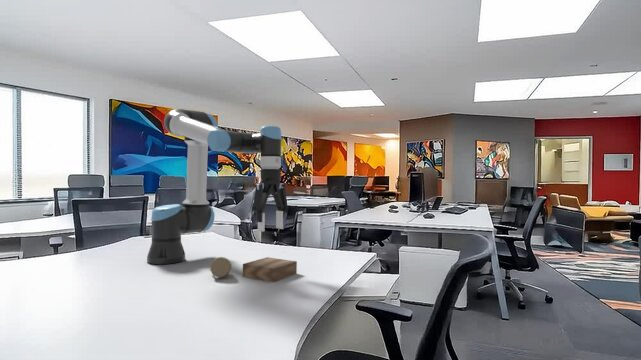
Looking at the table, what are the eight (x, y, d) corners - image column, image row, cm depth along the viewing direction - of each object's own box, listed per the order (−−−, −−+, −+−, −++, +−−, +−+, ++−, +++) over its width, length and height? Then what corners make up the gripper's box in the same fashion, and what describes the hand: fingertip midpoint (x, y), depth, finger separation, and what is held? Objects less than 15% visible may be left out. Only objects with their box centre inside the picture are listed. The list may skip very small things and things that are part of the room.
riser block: (242, 277, 141) (242, 263, 141) (267, 269, 153) (267, 257, 153) (273, 283, 134) (273, 268, 134) (296, 274, 146) (296, 261, 146)
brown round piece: (233, 271, 148) (239, 252, 142) (222, 289, 139) (228, 271, 134) (215, 263, 148) (220, 244, 142) (203, 281, 139) (208, 262, 134)
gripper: (257, 167, 132) (256, 233, 132) (297, 169, 150) (297, 227, 150) (241, 167, 137) (241, 232, 137) (282, 169, 155) (282, 225, 155)
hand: (270, 229), depth 144 cm, fingers open, 9 cm apart
